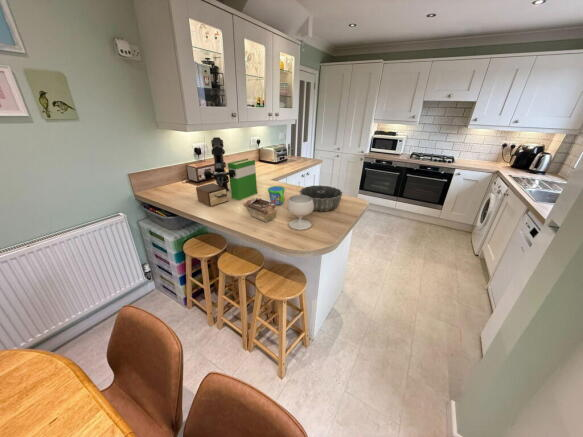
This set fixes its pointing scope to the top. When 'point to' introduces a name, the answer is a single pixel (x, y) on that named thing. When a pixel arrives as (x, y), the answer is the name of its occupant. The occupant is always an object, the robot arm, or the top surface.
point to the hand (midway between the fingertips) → (221, 186)
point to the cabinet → (207, 192)
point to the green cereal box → (243, 179)
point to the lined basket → (261, 209)
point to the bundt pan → (323, 197)
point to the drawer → (217, 197)
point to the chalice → (300, 210)
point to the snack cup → (276, 194)
